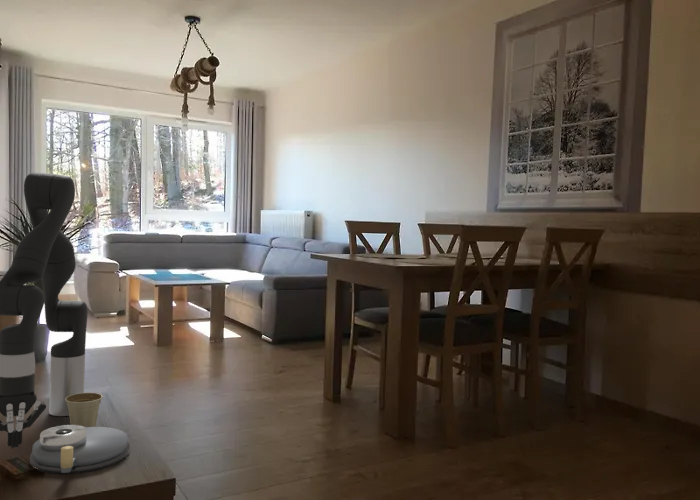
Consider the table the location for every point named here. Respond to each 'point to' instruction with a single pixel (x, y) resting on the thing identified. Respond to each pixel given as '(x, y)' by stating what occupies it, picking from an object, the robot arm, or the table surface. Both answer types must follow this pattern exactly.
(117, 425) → the table surface
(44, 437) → the cover
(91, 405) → the flower pot
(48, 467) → the turntable base
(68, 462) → the turntable
